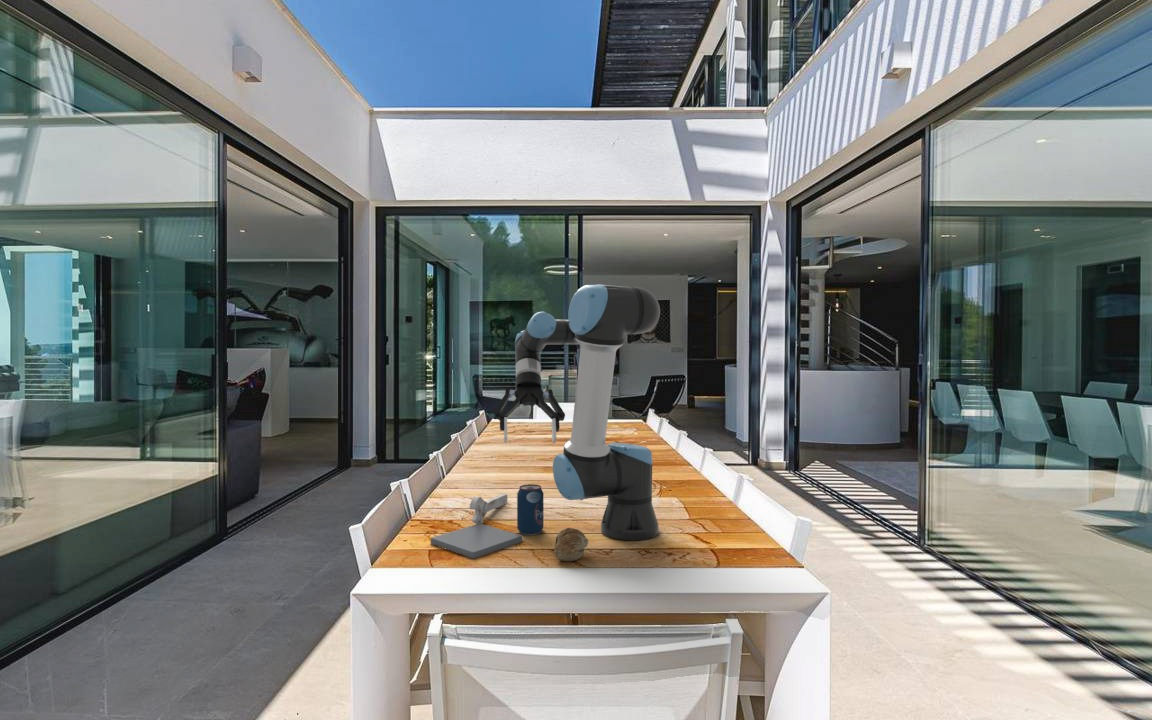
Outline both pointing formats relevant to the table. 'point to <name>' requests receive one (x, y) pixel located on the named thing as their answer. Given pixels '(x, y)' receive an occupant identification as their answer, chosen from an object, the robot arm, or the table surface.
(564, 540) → the seashell
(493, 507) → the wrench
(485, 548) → the slate board
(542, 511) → the soda can
